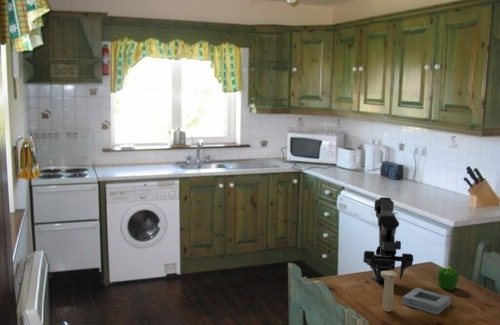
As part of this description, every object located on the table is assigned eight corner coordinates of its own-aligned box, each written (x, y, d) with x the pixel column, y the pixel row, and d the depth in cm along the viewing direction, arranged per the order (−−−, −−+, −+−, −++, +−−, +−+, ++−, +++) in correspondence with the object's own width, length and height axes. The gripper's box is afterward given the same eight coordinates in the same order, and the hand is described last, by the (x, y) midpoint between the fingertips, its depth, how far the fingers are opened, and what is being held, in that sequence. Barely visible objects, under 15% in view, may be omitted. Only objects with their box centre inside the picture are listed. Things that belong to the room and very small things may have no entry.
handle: (397, 312, 192) (400, 275, 189) (381, 313, 191) (383, 275, 189) (393, 307, 196) (395, 270, 194) (377, 307, 196) (379, 270, 194)
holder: (402, 303, 200) (402, 296, 199) (416, 294, 209) (416, 287, 209) (437, 314, 190) (437, 307, 190) (450, 304, 200) (450, 296, 200)
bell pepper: (438, 282, 222) (440, 260, 221) (458, 286, 218) (460, 264, 217) (435, 289, 215) (436, 266, 214) (455, 293, 211) (457, 270, 210)
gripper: (365, 231, 200) (364, 267, 191) (414, 234, 197) (416, 271, 188) (363, 244, 209) (363, 279, 200) (410, 247, 206) (412, 283, 196)
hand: (388, 278), depth 196 cm, fingers open, 9 cm apart
